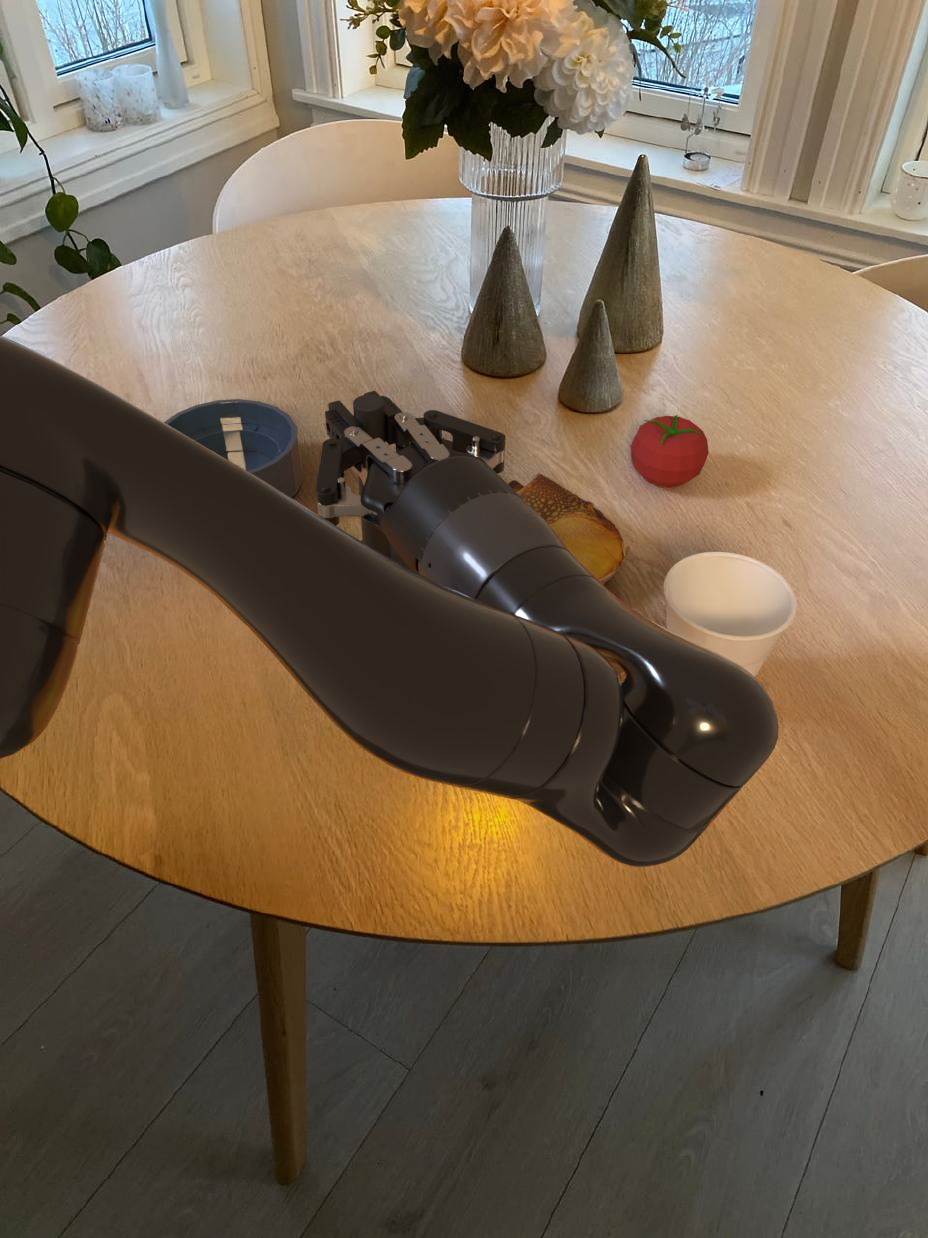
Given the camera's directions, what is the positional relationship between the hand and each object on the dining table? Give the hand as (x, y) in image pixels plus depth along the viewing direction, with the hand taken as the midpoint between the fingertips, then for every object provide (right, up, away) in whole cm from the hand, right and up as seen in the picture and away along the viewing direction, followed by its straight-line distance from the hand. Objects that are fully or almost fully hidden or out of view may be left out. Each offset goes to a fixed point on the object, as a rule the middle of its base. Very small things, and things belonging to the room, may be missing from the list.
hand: (351, 408), depth 65 cm
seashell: (+14, -9, +27) cm, 32 cm away
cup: (+28, -20, +15) cm, 37 cm away
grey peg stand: (+1, -12, +8) cm, 14 cm away
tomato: (+29, +1, +37) cm, 47 cm away
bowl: (-16, 0, +35) cm, 38 cm away
